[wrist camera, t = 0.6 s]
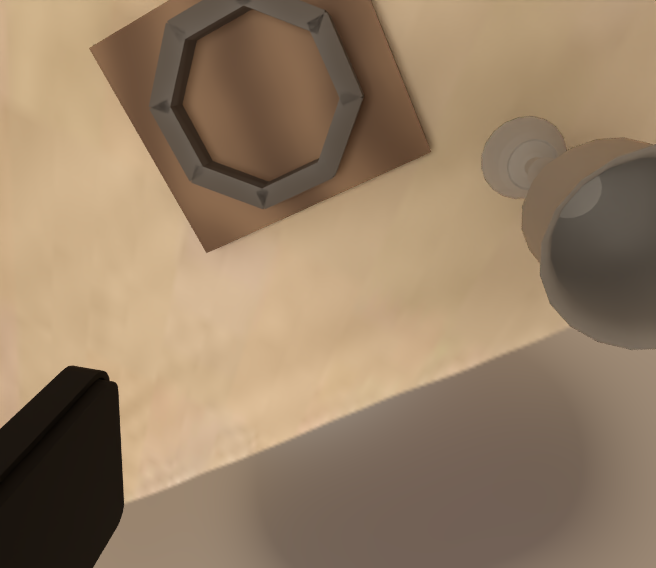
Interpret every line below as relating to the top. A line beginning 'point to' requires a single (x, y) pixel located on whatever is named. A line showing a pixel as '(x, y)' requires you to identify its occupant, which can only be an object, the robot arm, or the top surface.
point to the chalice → (585, 224)
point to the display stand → (261, 105)
